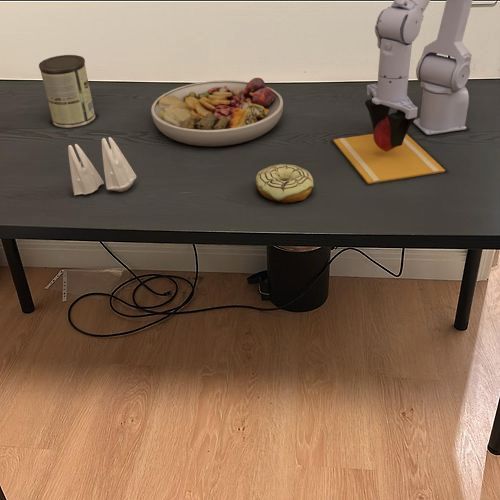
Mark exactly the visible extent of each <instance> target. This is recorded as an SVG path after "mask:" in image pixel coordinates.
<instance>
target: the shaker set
mask: <svg viewBox="0 0 500 500" xmlns="http://www.w3.org/2000/svg"><path fill="white" fill-rule="evenodd" d="M107 139H108V142H107ZM107 139H106V138H105V137H103V138H102V139H101V154H102V163H103V171H104V172H103V173H104V179H103V178H102V177H101V174H99V172H98V171H97V169H96V168H95V166H94V164H93V163H92V162H91V160H90V159H89V157H88V156H87V154H85V152H84V150H83V149H82V148H81V147H80V146H79V144H77V143H75V144H74V147H75V150H76V152H75V150H74V147H73V146H72V145H71V144H69V145H68V146H67V153H68V154H67V155H68V162H69V170H70V178H71V183H72V190H73V195H74V196H77V195H88V194H92V193H94V192H96V191H97V190H99V187H100V186H101V185H104V184H105V189H106V190H107V191H114V192H118V193H119V192H120V193H123V192H126V191H128V190H129V189H130V188H131V187H132V186H133V184H134V182H135V180H136V179H137V174H136V173H135V171H134V170H133V168H132V166H131V165H130V163H129V162H128V160H127V159H126V157H125V156H124V154H123V152H122V151H121V149H120V148H119V146H118V145H117V143H116V142H115V141H114V139H113V137H111V136H109V137H107ZM108 143H109V144H108ZM76 153H77V154H76ZM77 155H78V156H77ZM78 158H79V159H78ZM79 160H80V161H79ZM104 180H105V182H104Z"/></svg>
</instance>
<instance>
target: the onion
mask: <svg viewBox="0 0 500 500" xmlns="http://www.w3.org/2000/svg"><path fill="white" fill-rule="evenodd" d="M372 134H373V139H374V141H375V143H376V145H377V146H378V147H379V148H380V149H382V150H384V151H386V152H387V151H390V150H391V149H393V148H395V147H392V146H391V128H390V123H389V120H388V117H386V118H385V119H383V120H382V121H380V122H379V123H378V124H377V125H376V127H375V129H374V131H373V133H372Z"/></svg>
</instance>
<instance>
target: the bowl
mask: <svg viewBox="0 0 500 500" xmlns="http://www.w3.org/2000/svg"><path fill="white" fill-rule="evenodd" d="M265 82H266V81H264V79H263V78H261V77H253V78H252V79H251V80H249V81H243V80H230V79H229V80H227V79H225V80H223V79H222V80H209V81H201V82H196V83H190V84H187V85H183V86H182V85H181V86H180V87H176V88H174V89H171V90H169V91H167V92H165V93H163V94H162V95H161V96H158V97H157V98H156V100H154V102H153V103H152V105H151V108H150V109H151V110H150V111H151V117H152V120H153V123H154V124H155V126H156V128H157V129H158V130H159V132H161V133H162V134H163V135H165V137H168V138H169V139H171V140H173V141H177V142H179V143H182V144H184V145H185V144H186V145H190V146H198V147H225V146H233V145H237V144H243V143H247V142H249V141H252V140H255V139H257V138H259V137H262V136H263V135H265V134H267V133H269V132H270V131H272V129H274V127H275V126H276V125H277V124H278V123H279V121H280V119H281V117H282V115H283V109H284V100H283V97H282V95H281V94H280V93H279V92H278V91H276V90H274V89H273V88H271V87H268V86H267V85H266V83H265Z"/></svg>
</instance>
